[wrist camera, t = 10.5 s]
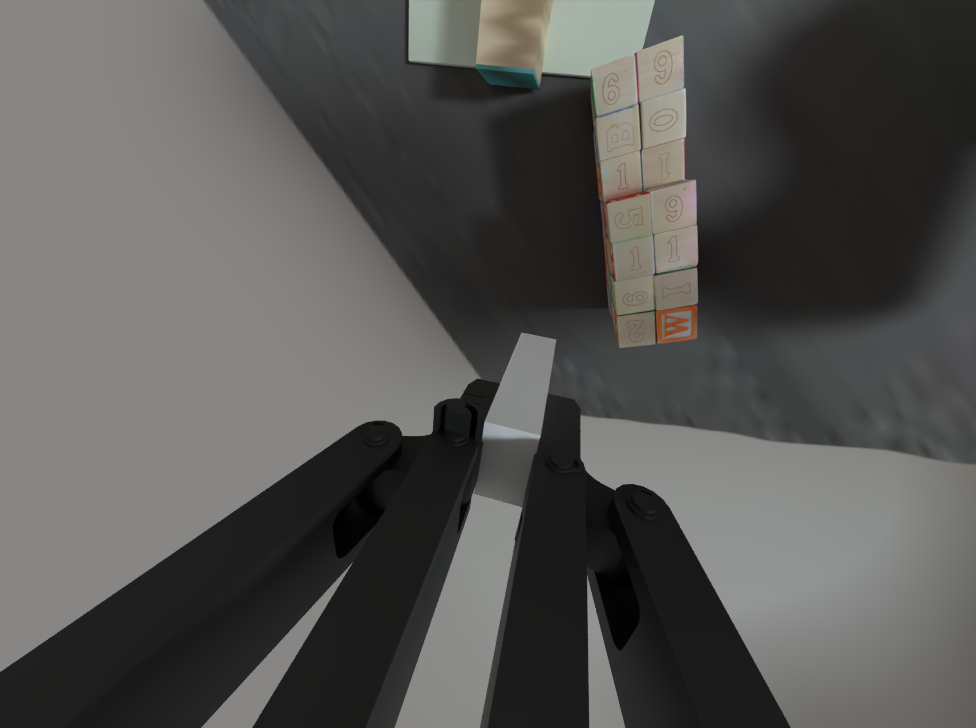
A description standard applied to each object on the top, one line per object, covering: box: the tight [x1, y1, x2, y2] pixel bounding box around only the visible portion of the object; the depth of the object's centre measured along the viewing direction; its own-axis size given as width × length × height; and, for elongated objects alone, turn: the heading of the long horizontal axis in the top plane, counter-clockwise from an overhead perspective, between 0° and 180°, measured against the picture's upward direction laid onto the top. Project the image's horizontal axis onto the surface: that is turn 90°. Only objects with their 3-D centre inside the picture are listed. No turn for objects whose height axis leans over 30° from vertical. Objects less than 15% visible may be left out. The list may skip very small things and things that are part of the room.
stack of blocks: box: [590, 35, 698, 348], centre depth 31 cm, size 21×6×12 cm, turn 14°
